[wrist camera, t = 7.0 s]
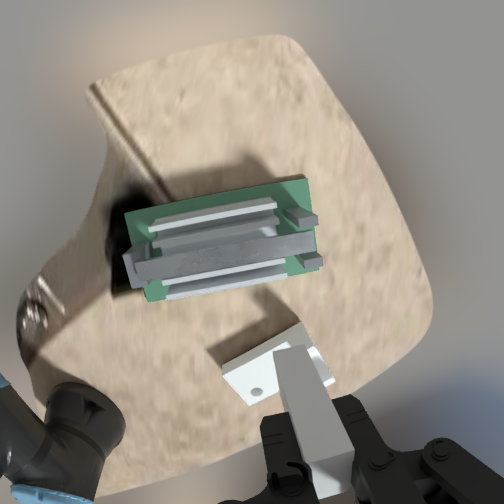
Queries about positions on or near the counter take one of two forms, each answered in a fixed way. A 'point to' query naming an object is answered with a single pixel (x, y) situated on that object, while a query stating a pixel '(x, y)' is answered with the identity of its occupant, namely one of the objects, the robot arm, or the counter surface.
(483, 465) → the robot arm
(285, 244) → the strap
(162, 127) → the counter surface
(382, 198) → the counter surface
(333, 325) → the counter surface
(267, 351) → the bracket
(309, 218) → the heatsink board
